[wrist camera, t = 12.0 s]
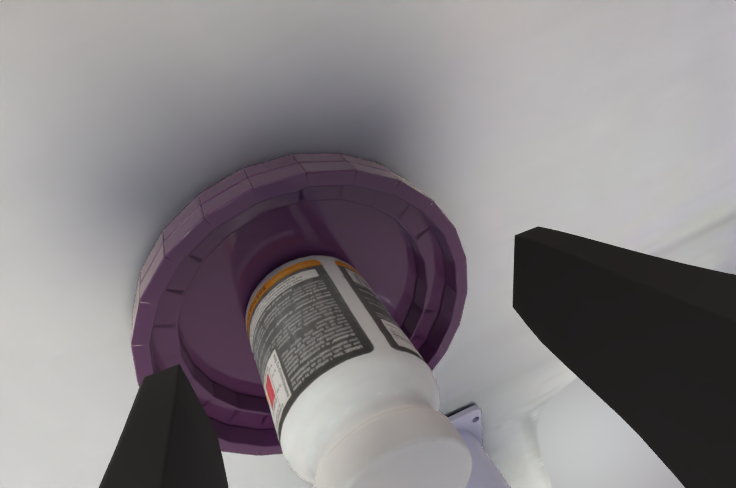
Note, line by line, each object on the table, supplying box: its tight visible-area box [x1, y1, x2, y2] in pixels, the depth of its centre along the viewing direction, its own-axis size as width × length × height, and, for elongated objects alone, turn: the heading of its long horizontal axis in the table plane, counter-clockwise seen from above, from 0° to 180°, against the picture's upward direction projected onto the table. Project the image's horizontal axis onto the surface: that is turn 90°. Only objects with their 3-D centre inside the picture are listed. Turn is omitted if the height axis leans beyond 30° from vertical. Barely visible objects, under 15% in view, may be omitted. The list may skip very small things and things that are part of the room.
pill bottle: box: [245, 255, 472, 488], centre depth 17 cm, size 6×6×10 cm
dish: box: [131, 153, 467, 456], centre depth 20 cm, size 14×14×3 cm
